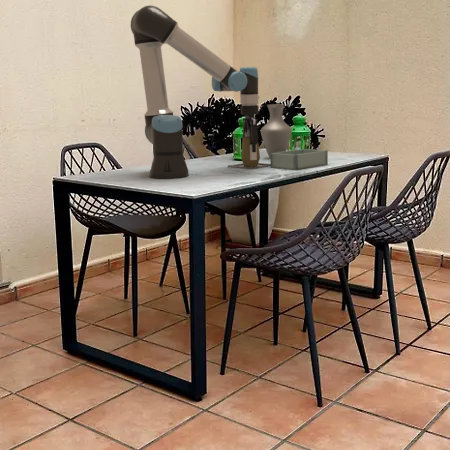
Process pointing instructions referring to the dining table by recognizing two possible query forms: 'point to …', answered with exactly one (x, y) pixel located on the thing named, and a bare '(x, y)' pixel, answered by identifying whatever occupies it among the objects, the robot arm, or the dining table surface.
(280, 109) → the vase
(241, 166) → the brown flat square frame
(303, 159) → the bin
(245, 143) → the squeeze bottle
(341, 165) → the dining table surface
